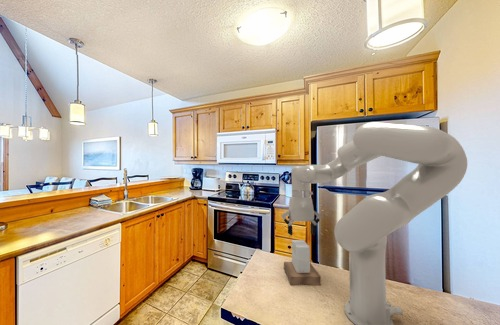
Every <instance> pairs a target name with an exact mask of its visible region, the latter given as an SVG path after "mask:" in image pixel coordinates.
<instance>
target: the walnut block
mask: <svg viewBox="0 0 500 325" xmlns="http://www.w3.org/2000/svg"><path fill="white" fill-rule="evenodd" d="M284 270H285V271H284ZM283 271H284V273H285V275H286V278H287V280H288V283H289V285H290V286H292V287H293V286H321V282H322V280H321V279H322V278H321V275H320V274H319V272H318V271H317V269H316V268H315V267H314V266H313V264H312V262H310V273H297V272H296V270H295V268H294V266H293V264H292V261H283Z"/></svg>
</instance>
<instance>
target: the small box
mask: <svg viewBox="0 0 500 325" xmlns="http://www.w3.org/2000/svg"><path fill="white" fill-rule="evenodd" d="M291 262H292V264H293V266H294V268H295V270H296V272H297V273H310V263H311V247H310V245H309V244H308V243H307V242H306V241H305V240H304V239H292V240H291Z"/></svg>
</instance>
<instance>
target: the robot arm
mask: <svg viewBox="0 0 500 325" xmlns="http://www.w3.org/2000/svg"><path fill="white" fill-rule="evenodd" d="M466 154H467V153H466V152H465V149H464V147H463V146H462V145H461V143H460V142H459V141H458V140H457V139H456V138H455V137H454V136H452V135H451V134H449V133H447V132H445V131H444V130H442V129H438V128H436V127H431V126H425V125H417V124H416V125H415V124H402V123H391V122H382V121H370V122H369V121H368V122H366V123H364V124H362V125H359V127H358V128H356V130H355V131H354V133H353V136H352V140H350V141H349V142H347V143H345V144H343V145H342V146H340V147H338V149H337V157H336V158H335V159H333V160H331V161H330V162H328V163H325V164H306V165H297V166H295V165H294V166H292V168H291V169H290V170H291V196H290V197H289V203H288V211H285V212H284V213H281V219H282V220H283V221H284V223H285V224H286V225H287V233H288V234H289V235H290V236H291V237H292V236H293V225H292V224H293V223H294V222H309V223H310V234H312V235H313V236H316V231H317V229H316V228H317V227H316V226H317V225H318V223H320V220H321V218H322V214H320V213H319V212H317V211H316V210H314V204H313V199H312V197H311V196H312V195H314V193H313V192H314V191H311V190H310V184H324V183H330V182H332V181H334V180H336V179H340V178H341V177H343V176H345V175H348V173H350V172H352V170H354V169H355V168H358V167H360V166H362V165H364V164H367V163H369V162H370V161H373V160H376V159H379V158H380V157H385V158H390V159H395V160H399V161H404V162H407V163H412V164H417V165H416V167H415V168H414V169H413V170H412V171H410V172H409V173H407V174H406V175H405V176H403V177H402V178H401V179H400V180H399V181H398V182H397V183H395V184H394V185H393V186H391V187H390V188H389V189H387V190H386V191H383V192H378V193H374V194H370V195H368V196H366V197H365V198H363V199H362V200H360V201H359V202H358V203H356V204H355V206H353V207H352V208H351V209H350V210H349V211H348V212H347V213H345V214H344V215H343V216H342V217H341V218H339V219H338V221H337V222H336V224H335V227H334V229H333V230H334V231H333V233H334V237H335V240H336V242H337V244H338V245H339V246H340V247H341V248H342V249H343V250H346V251H347V252H349V254H348V257H349V259H348V262H349V263H348V264H349V266H348V268H349V270H348V271H349V272H348V274H349V278H348V279H349V300H347V301H346V302H345V304H344V312H345V314H346V316H347V318H348V319H349V321H351V323H353V324H354V325H394V322H393V319H392V318H391V317H392V316H393V315H403V310H402V308H401V307H400V306H399V305H398V306H392V304H391V303H390V302H389V301H387V292H386V291H387V288H386V285H387V284H386V253H387V252H386V251H387V245H388V244H387V243H388V236H389V235H390V234H391V233H393V232H395V231H396V230H398V229H400V228H402V227H404V226H407V225H408V224H409V223H410V222H411V221H412V220H414V219H415V218H417V217H418V216H419V215H420V214H422V213H423V212H424V211H426V210H427V209H429V208H431V207H432V206H434V204H436V203H437V202H439V201H440V200H441V199H443V198H444V197H445V196H447V195H448V194H449V193H451V192H452V191H453V190H455V188H457V187H458V185H459V184H460V183H461V182H462V181H463V179H464V177H465V176H466V175H465V174H466V173H467V170H468V158H467V155H466ZM287 216H288V218H289V219H287ZM315 216H316V217H315Z"/></svg>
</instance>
